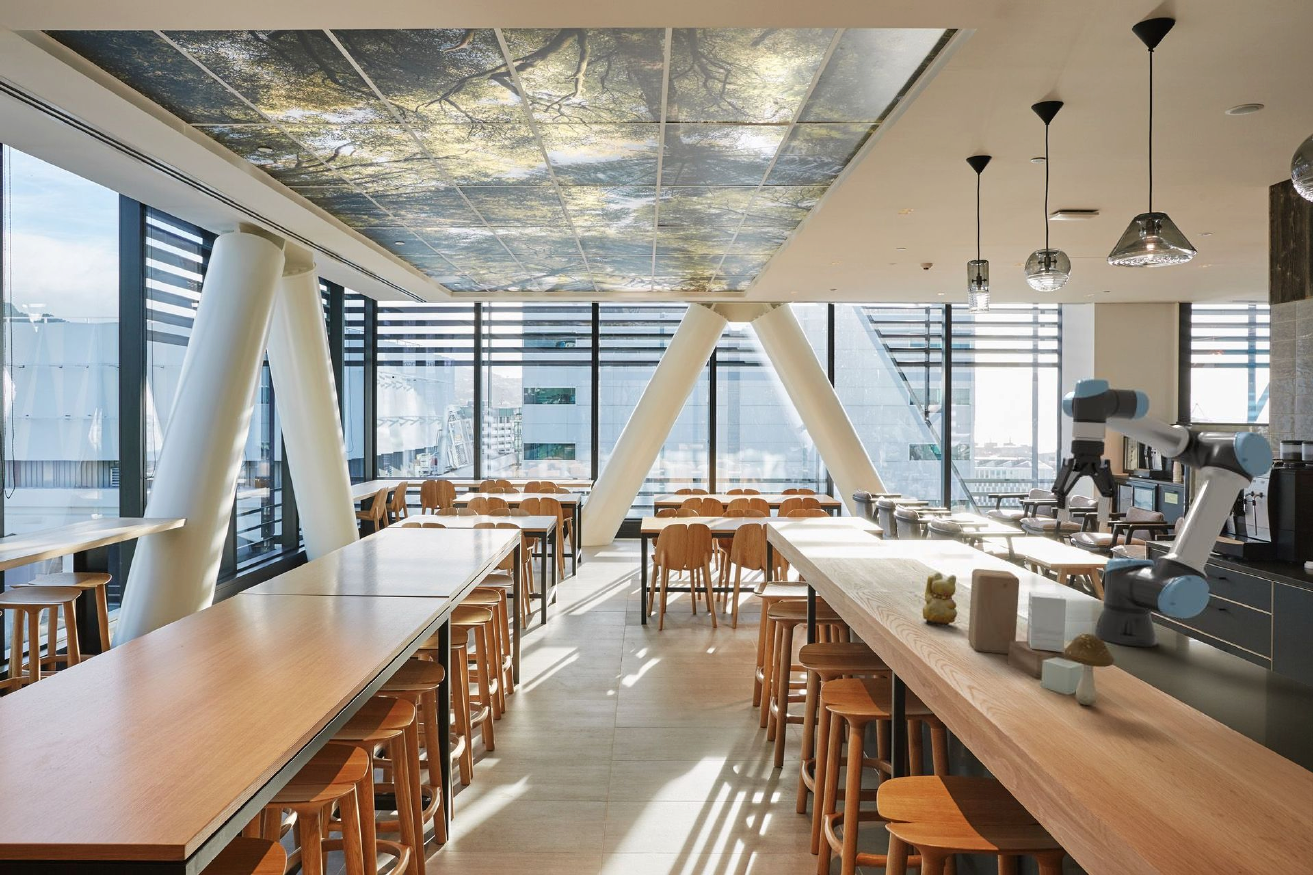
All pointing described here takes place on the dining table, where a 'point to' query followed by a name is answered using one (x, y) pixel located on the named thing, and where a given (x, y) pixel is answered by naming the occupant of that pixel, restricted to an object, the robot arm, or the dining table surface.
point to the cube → (1061, 675)
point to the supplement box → (1046, 621)
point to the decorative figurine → (940, 600)
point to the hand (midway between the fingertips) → (1082, 522)
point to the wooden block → (993, 610)
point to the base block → (1030, 658)
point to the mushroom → (1088, 663)
